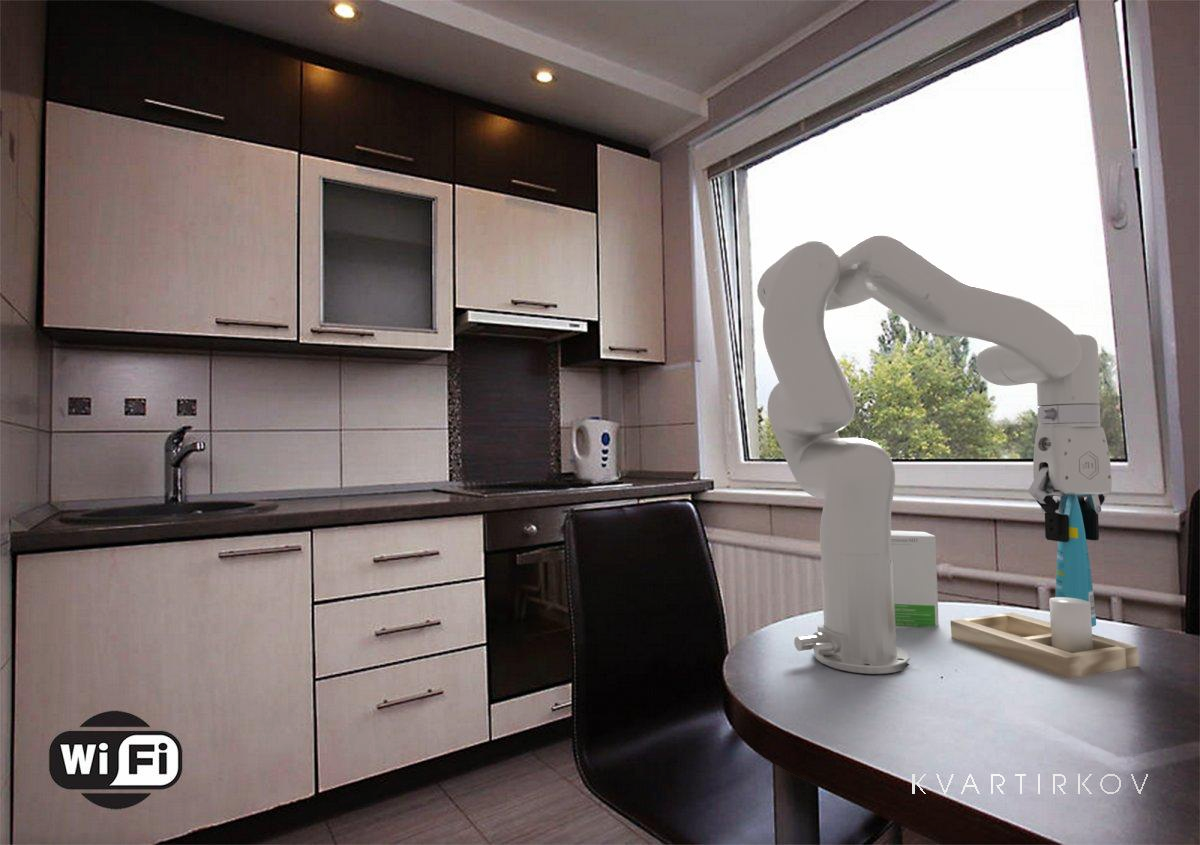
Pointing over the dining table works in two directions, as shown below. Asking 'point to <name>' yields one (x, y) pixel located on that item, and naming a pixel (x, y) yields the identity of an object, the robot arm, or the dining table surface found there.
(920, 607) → the skincare box
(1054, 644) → the white rounded cylinder
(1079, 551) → the tube
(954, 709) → the dining table surface
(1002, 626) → the birch holder
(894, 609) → the robot arm
